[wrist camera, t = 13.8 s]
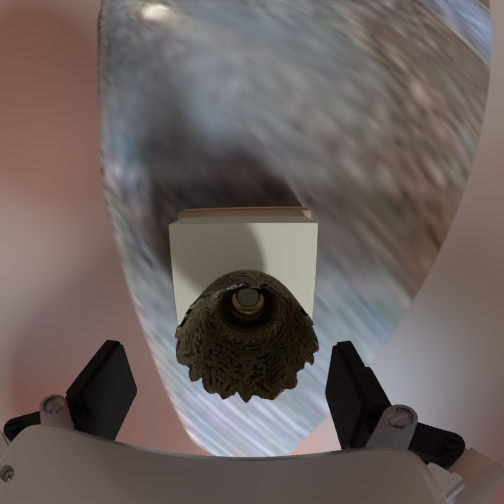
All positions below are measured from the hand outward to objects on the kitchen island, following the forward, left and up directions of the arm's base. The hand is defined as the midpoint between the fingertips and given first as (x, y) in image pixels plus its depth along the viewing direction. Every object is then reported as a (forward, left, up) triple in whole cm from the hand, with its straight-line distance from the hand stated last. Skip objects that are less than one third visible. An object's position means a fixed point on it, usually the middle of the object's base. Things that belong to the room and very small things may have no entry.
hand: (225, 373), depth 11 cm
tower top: (+1, 0, -15) cm, 15 cm away
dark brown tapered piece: (+1, +1, -11) cm, 11 cm away
